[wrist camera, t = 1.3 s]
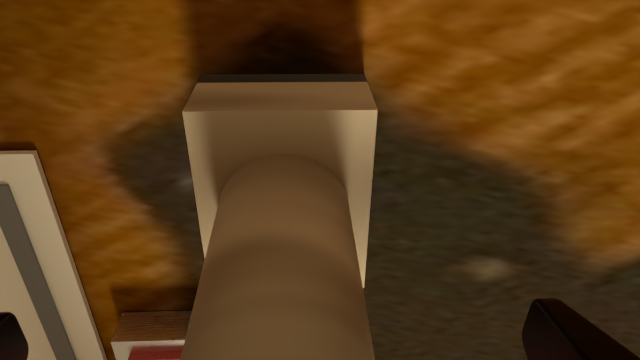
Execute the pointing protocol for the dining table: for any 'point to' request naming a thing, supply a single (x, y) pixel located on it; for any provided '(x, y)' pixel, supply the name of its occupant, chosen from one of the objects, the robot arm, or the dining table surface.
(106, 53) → the dining table surface
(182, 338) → the ink pad
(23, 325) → the card
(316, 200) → the stamp
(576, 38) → the dining table surface
